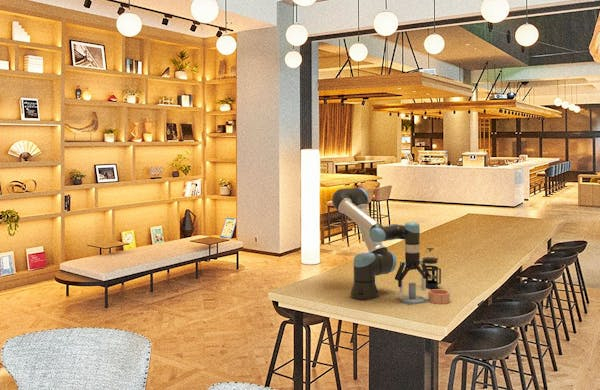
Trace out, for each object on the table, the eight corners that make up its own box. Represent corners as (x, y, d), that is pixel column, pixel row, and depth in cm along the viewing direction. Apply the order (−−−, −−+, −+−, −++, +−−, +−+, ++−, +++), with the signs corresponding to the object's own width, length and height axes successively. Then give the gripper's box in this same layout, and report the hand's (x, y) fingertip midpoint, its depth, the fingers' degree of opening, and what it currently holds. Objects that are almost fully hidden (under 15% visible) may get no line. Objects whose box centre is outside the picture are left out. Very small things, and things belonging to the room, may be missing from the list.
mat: (393, 299, 300) (393, 298, 300) (416, 296, 305) (416, 295, 305) (407, 306, 287) (407, 305, 287) (431, 302, 292) (431, 302, 292)
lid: (395, 298, 300) (395, 282, 299) (415, 295, 304) (416, 279, 303) (408, 304, 288) (408, 287, 287) (429, 301, 292) (429, 284, 292)
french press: (417, 287, 323) (417, 248, 321) (425, 284, 331) (425, 246, 329) (436, 290, 316) (437, 250, 314) (443, 287, 323) (444, 248, 321)
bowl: (425, 300, 297) (425, 290, 296) (441, 298, 300) (441, 288, 300) (436, 305, 287) (436, 295, 287) (453, 303, 291) (453, 293, 290)
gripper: (395, 255, 286) (395, 295, 287) (436, 251, 295) (436, 290, 296) (388, 252, 293) (388, 292, 294) (428, 248, 302) (428, 287, 303)
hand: (412, 291), depth 295 cm, fingers open, 13 cm apart
